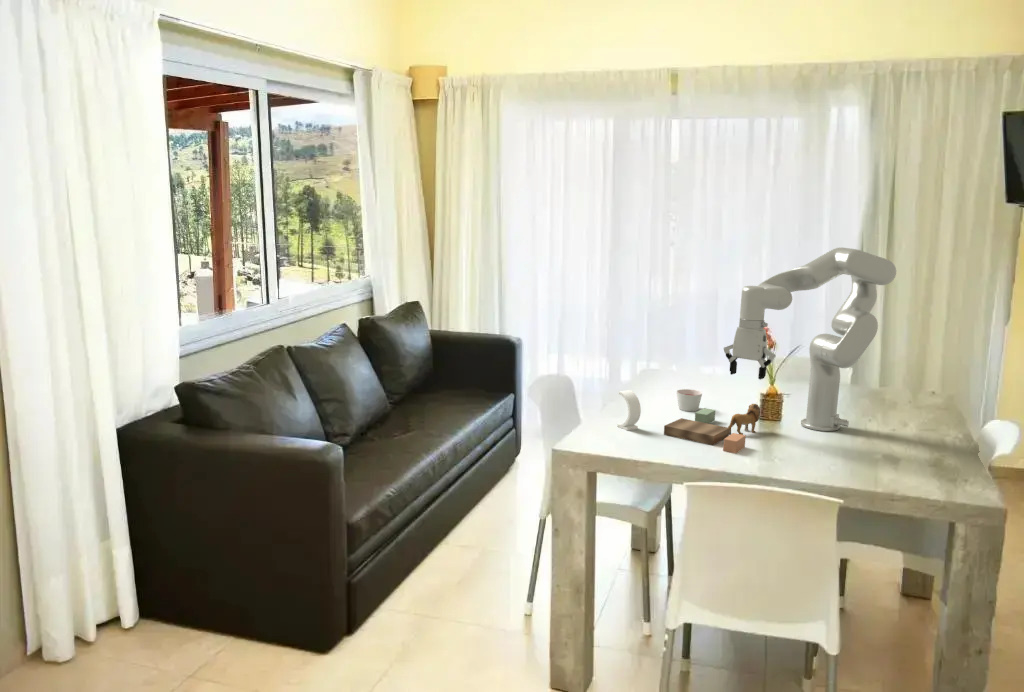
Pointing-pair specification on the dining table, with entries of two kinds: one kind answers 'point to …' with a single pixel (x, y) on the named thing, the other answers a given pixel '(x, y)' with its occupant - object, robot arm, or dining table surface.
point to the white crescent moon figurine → (631, 410)
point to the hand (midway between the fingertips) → (747, 376)
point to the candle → (688, 399)
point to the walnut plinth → (696, 431)
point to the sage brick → (705, 416)
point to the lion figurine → (746, 419)
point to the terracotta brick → (734, 443)
